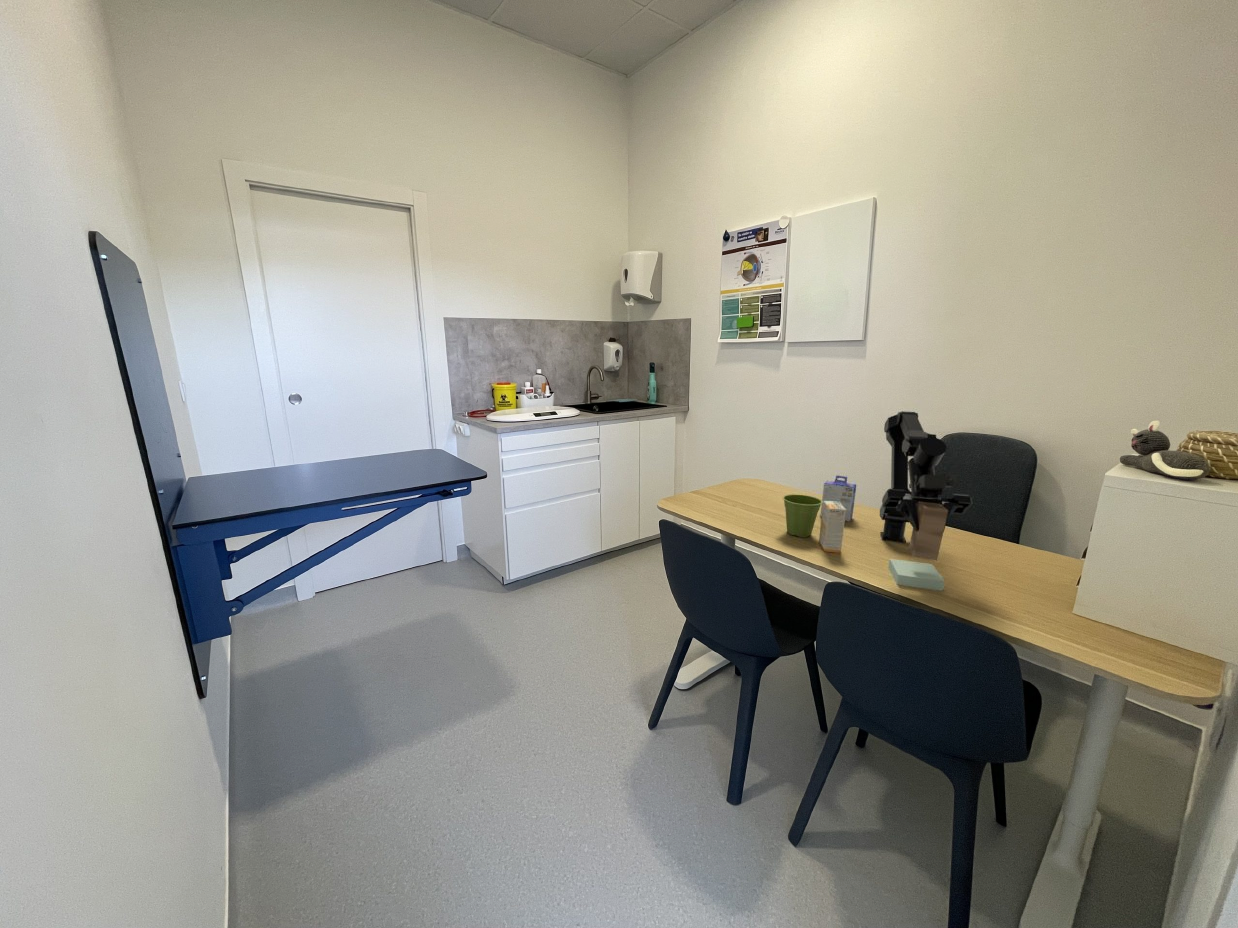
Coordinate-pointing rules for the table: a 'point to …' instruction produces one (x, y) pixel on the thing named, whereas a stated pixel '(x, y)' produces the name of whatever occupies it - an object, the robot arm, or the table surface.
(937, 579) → the sage green base block
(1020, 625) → the table surface
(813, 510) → the plant pot
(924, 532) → the walnut block
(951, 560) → the table surface
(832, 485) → the ink cartridge box
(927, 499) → the robot arm
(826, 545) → the supplement box
